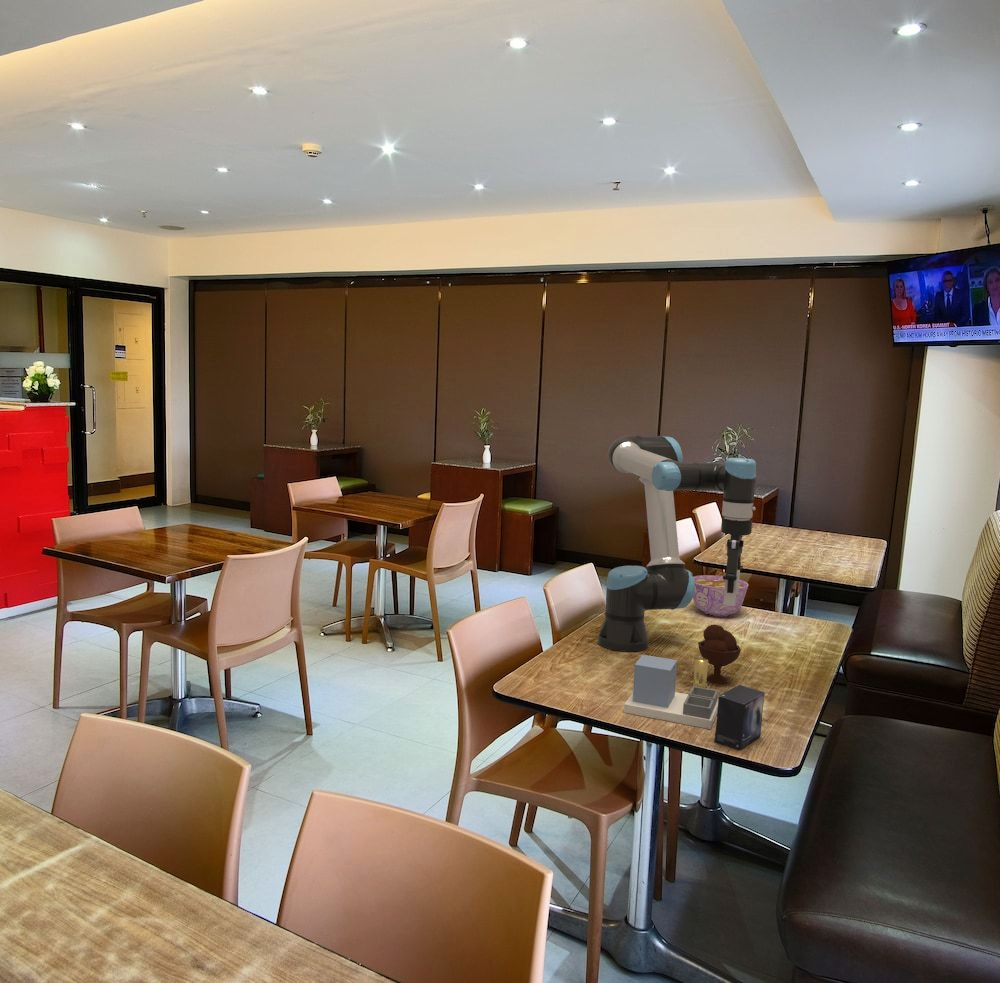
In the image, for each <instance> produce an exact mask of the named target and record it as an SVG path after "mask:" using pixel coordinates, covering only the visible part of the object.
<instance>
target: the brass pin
mask: <svg viewBox="0 0 1000 983" xmlns="http://www.w3.org/2000/svg"><path fill="white" fill-rule="evenodd" d="M693 665H694V667H693V669H694V670H693V681H692V682H693V683H692V687H693V686H694V687H700V688H706V689H707V684H708V683H707V682H708V681H707V676H708V668H709V663H708V659H706V658H703V657H702V656H701V657H695V658H694V664H693Z"/></svg>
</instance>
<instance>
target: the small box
mask: <svg viewBox="0 0 1000 983" xmlns="http://www.w3.org/2000/svg"><path fill="white" fill-rule="evenodd" d="M764 698H765V692H764V691H761V690H758V689H755V688H751V687H748V686H745V685H742V684H738V685H736V686H735V687H733V688H730V689H728V690H727V691H725V692H722V693H721V694H718V699H717V700H718V709H717V715H716V722H715V731H714V732H715V733H714V740H713V741H714V742H716V743H719V744H721V745H725V746H727V747H731V748H733V749H736V750H742V749H744V748H746V747H747V746H748V745H749V744H751V743H753V742H754V741H756V740H758V739H759V738H761V735H762V726H763V725H762V722H763V712H764V710H763V709H764V702H765V699H764Z"/></svg>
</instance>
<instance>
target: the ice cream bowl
mask: <svg viewBox="0 0 1000 983" xmlns="http://www.w3.org/2000/svg"><path fill="white" fill-rule="evenodd" d="M702 634H703V635H702V636H703V639H704V640H701V641H698V642H697V645H698V650H699V653H700V655H701V658H706V659H708V664H710V665H711V666H713V673H712V674H710V675H707V682H709V683H711V684H714V685H715V684H716V685H724V684H727V683H728V680H727V678H726V677H725V676H724V675H722V672H721V670H722V668H723V667H726V666H728V665H730V664H732V663H734V662H735V661H736V660H738V658H739V656H740V654H741V650H742V648H741V647H740V645H739V644H737V639H736V637H735V636H734V635H733V633H732V632H730V631H728V630H726V629H725V628H724V627H722V626H721V625H719V624H710V625H708V626H707V627H706V628H705V629H703V632H702Z"/></svg>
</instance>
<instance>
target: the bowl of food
mask: <svg viewBox="0 0 1000 983" xmlns="http://www.w3.org/2000/svg"><path fill="white" fill-rule="evenodd" d="M723 576H724V575H709V574H708V575H707V574H706V575H702V574H701V575H695V576H693V577H694V580H695V591H694V596H693V599H692V601H693V603H694V605H695V606H696V607H697V609H699V610H700V611H702V612H703V613H707V614H710V615H709V616H711V615H713V616H712V617H717V616H721V618H723V617H722V616H725V617H728V616H729V615H732V614H734V613H736V612H738V611H739V610H740V609H741V608H742V606H743V603H744V600H745V596H746V595H747V594H746V593H747V591H748V589H749V583H748V582H747V581H745V580H742V579H739V591H738V594H736V599H735V606H731V605H724V593H725V579H723ZM707 614H706V615H707Z"/></svg>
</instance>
